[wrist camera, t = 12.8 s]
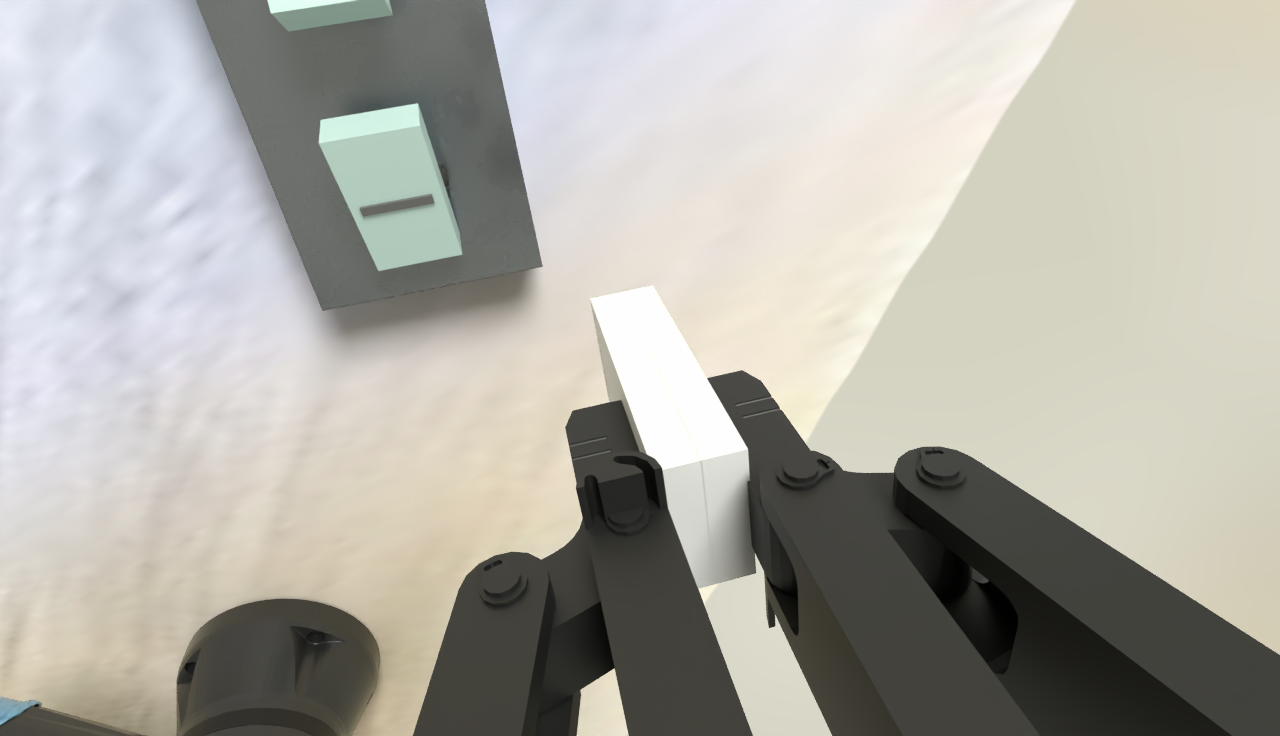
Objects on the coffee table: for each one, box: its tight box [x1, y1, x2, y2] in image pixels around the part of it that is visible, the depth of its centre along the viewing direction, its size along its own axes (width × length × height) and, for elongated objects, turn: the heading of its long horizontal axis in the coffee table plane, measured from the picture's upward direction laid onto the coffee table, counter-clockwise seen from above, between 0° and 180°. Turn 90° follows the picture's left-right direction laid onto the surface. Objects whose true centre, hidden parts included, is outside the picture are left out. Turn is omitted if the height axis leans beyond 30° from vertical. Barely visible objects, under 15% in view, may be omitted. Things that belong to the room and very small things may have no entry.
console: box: [196, 0, 543, 311], centre depth 36 cm, size 13×25×6 cm, turn 8°
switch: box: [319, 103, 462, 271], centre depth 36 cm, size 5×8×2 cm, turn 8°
